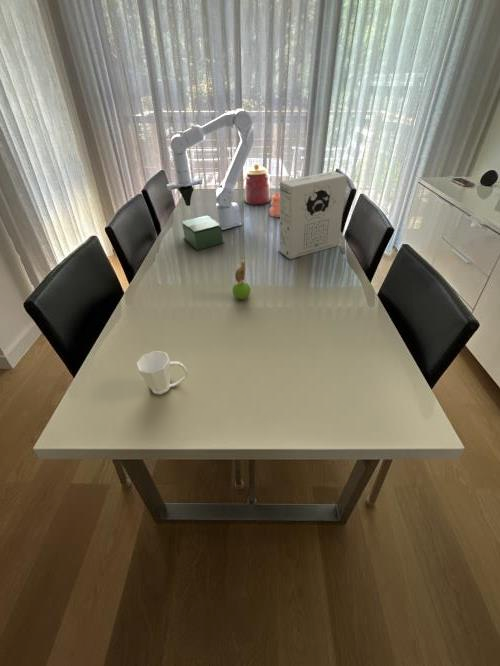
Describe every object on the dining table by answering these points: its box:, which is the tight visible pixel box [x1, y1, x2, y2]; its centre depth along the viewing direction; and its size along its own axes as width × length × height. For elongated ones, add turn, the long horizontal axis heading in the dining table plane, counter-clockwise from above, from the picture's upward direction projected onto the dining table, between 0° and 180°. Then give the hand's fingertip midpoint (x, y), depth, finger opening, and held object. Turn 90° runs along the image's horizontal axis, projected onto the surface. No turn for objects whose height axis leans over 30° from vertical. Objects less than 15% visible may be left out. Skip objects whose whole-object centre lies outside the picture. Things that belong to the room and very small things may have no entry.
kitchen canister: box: [243, 162, 271, 206], centre depth 168 cm, size 13×13×18 cm
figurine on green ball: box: [231, 256, 251, 300], centre depth 100 cm, size 5×6×12 cm
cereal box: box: [279, 170, 348, 260], centre depth 120 cm, size 22×8×25 cm, turn 115°
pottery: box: [269, 191, 280, 218], centre depth 154 cm, size 18×10×10 cm, turn 94°
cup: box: [135, 350, 188, 395], centre depth 74 cm, size 7×10×8 cm
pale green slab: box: [181, 214, 214, 227], centre depth 136 cm, size 6×11×1 cm, turn 120°
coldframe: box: [181, 219, 224, 251], centre depth 136 cm, size 13×11×7 cm
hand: (188, 205), depth 142 cm, fingers closed
